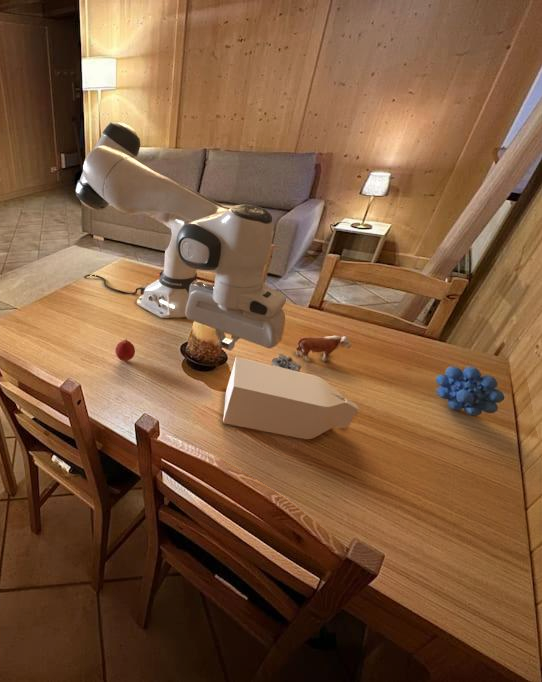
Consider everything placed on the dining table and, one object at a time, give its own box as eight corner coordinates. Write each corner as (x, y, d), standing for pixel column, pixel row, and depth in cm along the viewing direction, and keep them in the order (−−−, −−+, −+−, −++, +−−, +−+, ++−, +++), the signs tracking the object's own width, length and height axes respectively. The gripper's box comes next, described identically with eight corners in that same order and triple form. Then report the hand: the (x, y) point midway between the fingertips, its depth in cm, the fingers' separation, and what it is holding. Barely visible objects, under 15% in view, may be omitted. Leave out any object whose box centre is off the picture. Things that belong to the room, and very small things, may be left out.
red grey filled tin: (262, 381, 97) (271, 352, 92) (272, 378, 98) (281, 348, 93) (287, 400, 91) (297, 369, 86) (297, 396, 92) (308, 365, 87)
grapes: (418, 405, 87) (442, 367, 80) (426, 392, 90) (450, 354, 84) (483, 432, 79) (516, 392, 73) (489, 416, 83) (521, 377, 76)
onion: (111, 361, 109) (111, 340, 105) (123, 352, 112) (123, 331, 108) (127, 369, 106) (127, 347, 101) (138, 359, 109) (139, 338, 104)
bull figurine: (346, 364, 101) (356, 340, 97) (294, 361, 104) (302, 337, 99) (340, 355, 105) (350, 332, 100) (290, 352, 107) (297, 329, 103)
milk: (233, 386, 79) (370, 416, 72) (235, 356, 88) (358, 380, 80) (222, 423, 86) (346, 454, 78) (225, 392, 95) (337, 417, 87)
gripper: (182, 283, 76) (177, 337, 84) (282, 313, 64) (265, 372, 72) (198, 273, 80) (192, 326, 88) (295, 300, 67) (278, 358, 75)
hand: (225, 347), depth 80 cm, fingers closed
